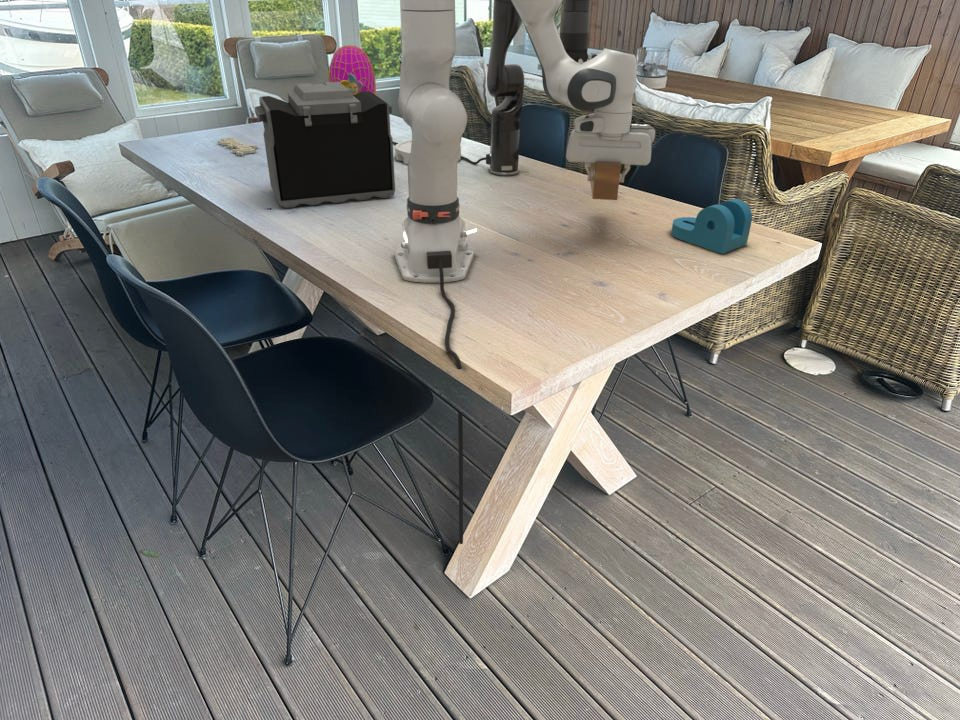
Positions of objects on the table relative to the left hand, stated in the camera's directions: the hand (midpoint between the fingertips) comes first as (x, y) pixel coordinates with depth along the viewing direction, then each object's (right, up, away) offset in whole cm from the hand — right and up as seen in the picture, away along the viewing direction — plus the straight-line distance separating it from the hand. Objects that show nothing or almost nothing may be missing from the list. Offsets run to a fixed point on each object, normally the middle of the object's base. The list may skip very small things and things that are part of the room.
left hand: (605, 181), depth 169 cm
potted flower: (-77, +39, +93) cm, 127 cm away
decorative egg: (-84, +57, +125) cm, 161 cm away
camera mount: (+27, -13, +7) cm, 31 cm away
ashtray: (-49, +28, +75) cm, 94 cm away
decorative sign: (-120, +35, +86) cm, 152 cm away
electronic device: (-75, +6, +38) cm, 84 cm away
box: (+1, +1, +8) cm, 8 cm away
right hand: (-6, +29, +20) cm, 35 cm away
